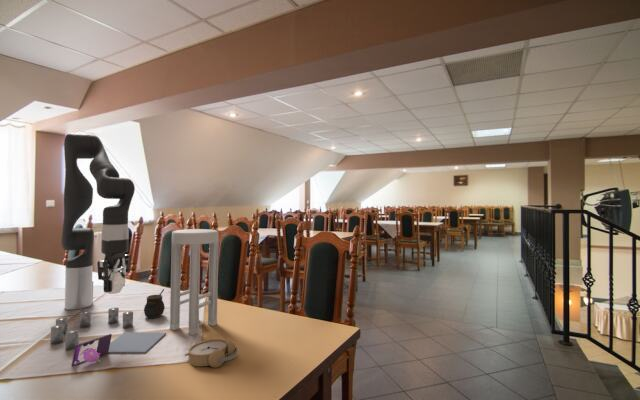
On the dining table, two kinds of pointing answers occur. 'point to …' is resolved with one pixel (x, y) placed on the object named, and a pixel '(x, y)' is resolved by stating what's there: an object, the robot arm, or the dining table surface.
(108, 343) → the game card
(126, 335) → the rubber mat
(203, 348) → the alarm clock
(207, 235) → the stool
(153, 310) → the mate gourd
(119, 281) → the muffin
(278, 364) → the dining table surface
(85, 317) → the posts
